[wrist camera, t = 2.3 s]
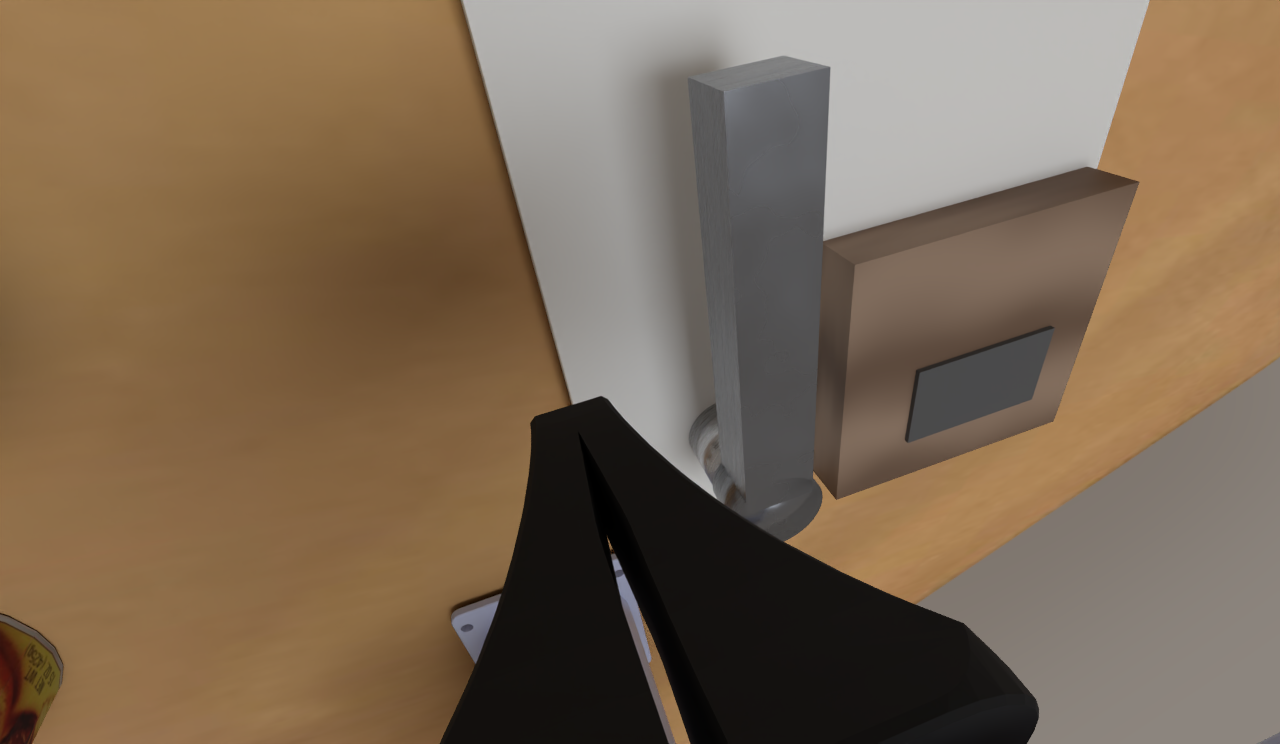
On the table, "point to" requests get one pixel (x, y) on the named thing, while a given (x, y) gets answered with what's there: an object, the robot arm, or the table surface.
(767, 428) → the bar
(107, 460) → the table surface
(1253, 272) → the table surface
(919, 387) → the pad
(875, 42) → the plate
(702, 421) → the post
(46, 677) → the canned food
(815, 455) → the door slab
